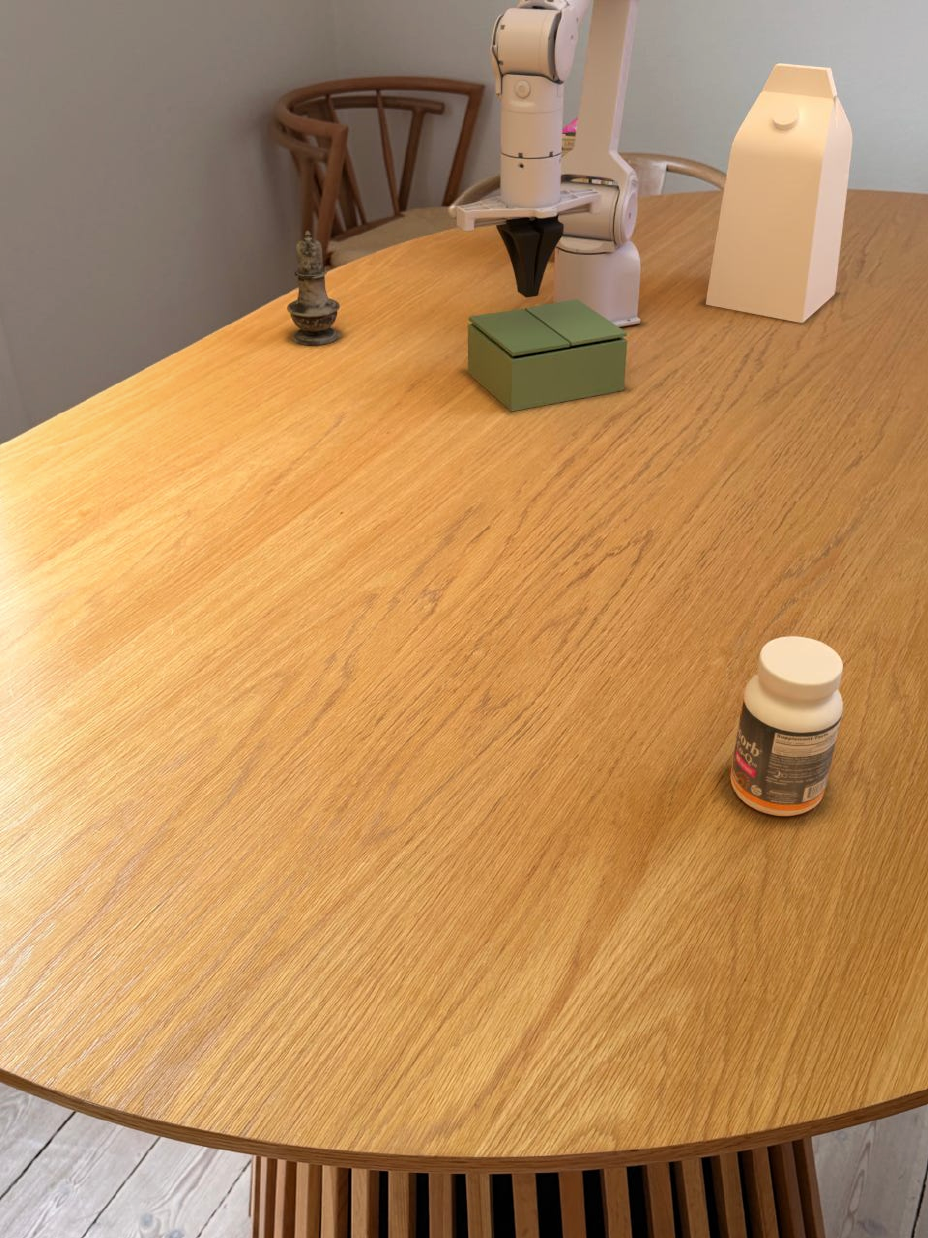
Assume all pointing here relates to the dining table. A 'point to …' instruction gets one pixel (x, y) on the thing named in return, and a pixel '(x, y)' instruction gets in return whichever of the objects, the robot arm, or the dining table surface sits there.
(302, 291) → the grey tall tiered piece
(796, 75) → the milk
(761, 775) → the pill bottle
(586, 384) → the carton
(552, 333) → the flap
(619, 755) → the dining table surface
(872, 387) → the dining table surface
